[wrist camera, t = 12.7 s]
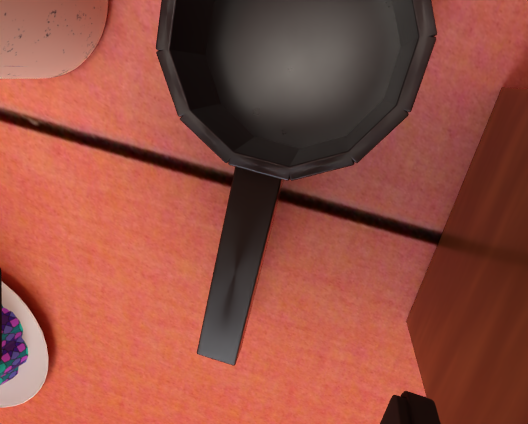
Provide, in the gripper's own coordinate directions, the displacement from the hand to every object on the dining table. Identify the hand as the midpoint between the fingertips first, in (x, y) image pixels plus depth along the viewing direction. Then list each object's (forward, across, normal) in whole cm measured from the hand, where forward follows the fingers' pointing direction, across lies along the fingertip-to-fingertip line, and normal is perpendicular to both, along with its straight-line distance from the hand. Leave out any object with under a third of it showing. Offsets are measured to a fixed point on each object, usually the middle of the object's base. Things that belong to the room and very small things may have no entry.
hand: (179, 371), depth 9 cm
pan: (+14, +1, -3) cm, 14 cm away
